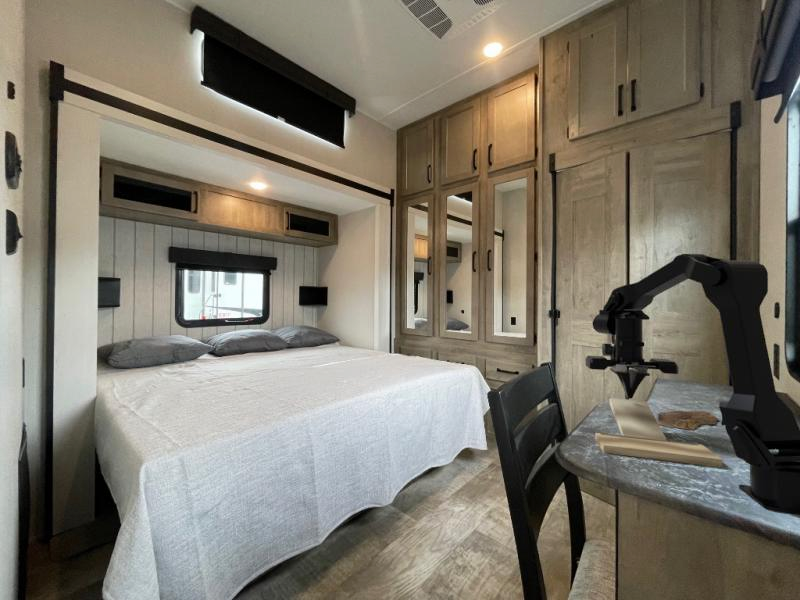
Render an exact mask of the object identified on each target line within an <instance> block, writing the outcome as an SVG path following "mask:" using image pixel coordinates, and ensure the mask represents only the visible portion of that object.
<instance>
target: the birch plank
mask: <svg viewBox="0 0 800 600" xmlns="http://www.w3.org/2000/svg"><path fill="white" fill-rule="evenodd" d="M608 404H609V407H610V408H611V411H612V413H613V416H614V419H615V421H616V425H617V426H618V429H619V432H620V434H621V436H630V437H639V438H648V439H657V440H666V441H668V440H667V438H666V436H665V434H664V432H663V430H662V428H661V426H659V424H658V420H657V419H656V417H655V415H654V414H653V411H652V409H651V408H650V406H649V404H648V402H647V401H646V400H640V399H639V400H637V399H629V398H625V399H624V398H617V397H616V398H614V397H610V398H609V400H608Z"/></svg>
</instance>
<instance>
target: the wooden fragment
mask: <svg viewBox="0 0 800 600" xmlns="http://www.w3.org/2000/svg"><path fill="white" fill-rule="evenodd" d="M657 417H658V418H657V423H658V424H659V426H660V427H666V428H668V429H669V428H670V429H677V430H682V431H691V432H695V430H696V429H697V428H700V427H702V426H703V425H706V426H711V425H717V422H721V420H720V419H719V418H717V417H716V416H715V415H713V414H711V412H709V411H707V410H701V411H700V410H694V411H693V410H690V411H688V410H687V411H686V410H685V411H681V410H680V411H678V410H677V411H676V410H675V411H666V412H664V411H663V412H659V413H658V416H657Z"/></svg>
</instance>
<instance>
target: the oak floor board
mask: <svg viewBox="0 0 800 600" xmlns="http://www.w3.org/2000/svg"><path fill="white" fill-rule="evenodd" d="M595 441H596V442H597V445H598V446H599V447H600V449H601V450H602V453H604V454H605V453H606V454H613V455H620V456H621V455H622V456H629V457H637V458H643V459H644V458H645V459H654V460H659V461H660V460H661V461H668V462H676V463H684V464H692V465H698V466H706V467H707V466H708V467H715V468H716V467H717V468H723V458H721V457H720V456H719V455H716V454H715V453H714V452H713V451H711V450H710V449H709V448H707V447H706V446H705V445H703V444H701V443H700V444H699V443H692V442H682V441H674V440H673V441H672V440H667V441H666V440H657V439H648V438H639V437H630V436H622V435H619V434H612V433H604V432H603V433H602V432H600V433H599V432H595Z"/></svg>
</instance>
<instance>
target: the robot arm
mask: <svg viewBox="0 0 800 600" xmlns="http://www.w3.org/2000/svg"><path fill="white" fill-rule="evenodd" d="M687 280H691V281H693V282H696V283H699V284H701V288H702V290H703V292H704V296H705V297H706V298H707V300H708V301H709V302H710V303H711V304H712V305H713V306H714V307H715V308H716V309H717V311H718V312H719V317H720V322H721V328H722V333H723V340H724V345H725V350H726V351H725V352H726V356H727V357H726V358H727V361H728V367H729V374H730V379H731V385H732V389H733V390H732V391H733V392H732V395H731V397H730V398H729V400H726V401H723V400H722V401H719V403H718V404H719V405H718V408H719V410H720V415H721V421H720V422H721V423H720V424H721V426H724V427H725V430H726V434H727V435H728V437H729V439H730V442H731V445H732V448H733V451H734V453H735V456H736V457H737V458H739V459H741V460H743V461H744V462H745V463H746V464H747V465H749V485H745V484H738V489H740V490H741V491H742V492H744V493H745V494H746V495H747V496H749V498H752V500H753V501H755V502H756V503H757V504H759V505H760V506H761V507H762V508H764V509H766V510H770V511H771V510H772V511H776V512H777V511H778V512H783V513H791V514H797V515H800V427H799V425H798V422H797V420H796V417H795V414H794V413H793V411H792V410H791V408H789V406H788V405H787V404H786V403H785V402H784V401H783V400H782V399H781V397H780V396H778V394H777V392H776V388H775V382H774V377H773V371H772V365H771V361H770V356H769V352H768V345H767V342H766V336H765V332H764V327H763V325H764V324H763V322H762V317H761V312H760V311H761V310H760V308H761V305H762V303H763V301H764V300H765V298H766V296H767V294H768V291H769V273H768V269H767V268H766V266H765V265H764V264H761V263H759V262H758V261H756V260H736V259H735V260H729V259H723V258H719V257H713V256H709V255H706V254H703V253H681V254H678V255H676V256H675V257H674V258H673V260H671V261H670V262H668V263H666V264H665V265H663V266H662V267H660V268H658V269H657V270H655V271H653V272H652V273H650V274H649V275H647V276H645V277H644V278H642V279H641V280H639V281H636V282H633V283H628V284H624V285H621V286H619V287H616V288H614V289H613V290H612V291H611V293H610V294H609V297H608V299H607V301H606V303H605V305H604V306H603V307H602V308H603V309H599V310H598V311H599V314H597V315H595V317H594V318H593V320H592V328H593V329H594V331H595V332H597V333H599V334H603V335H604V334H605V335H612V336H615V337H614V338H615V339H614V341H613V345H612V343H601V344H602V345H601V352H602V355H587V356H586V357H585V366H586V367H587V368H589V370H598V371H606V369H608V368H609V370H610V371H611V372H613V373H614V374H615V375H616V376H617V378H618V379H619V381H620V383H621V386H622V388H623V390H624V393H625V396H626V399H628V400H633V398H634V396H635V393H636V392H637V389H638V388H639V386H640V384H641V383H642V382H643V380H644V379H645V378H646V377H650V376H651V373H650V372H648V370H658V371H660V372H661V373H662V374H670V375H671V374H673V375H678V374H679V366H678V363H676V362H675V361H673V360H670V359H667V358H650V359H649V360H648V361H645V358H644V357H643V356H644V352H643V351H644V349H643V348H644V347H645V342H644V341H643V339H644V338H643V335H644V334H643V321H646V320H647V321H648V320H650V316H649V315H648V314H646V313H645V312H644V311H643V310H644V309H647V307H648V306H649V305H650V304H652V303H653V300H654V298H655V297H656V296H658V295H660V294H662V293H664V292H666V291H667V290H669V289H670V290H671V288H673V287H675V286H677V285H679V284H681V283H683V282H685V281H687ZM606 357H610V359H608V358H606ZM627 369H628V371H627ZM772 450H774V451H772ZM775 450H777V451H775Z"/></svg>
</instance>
